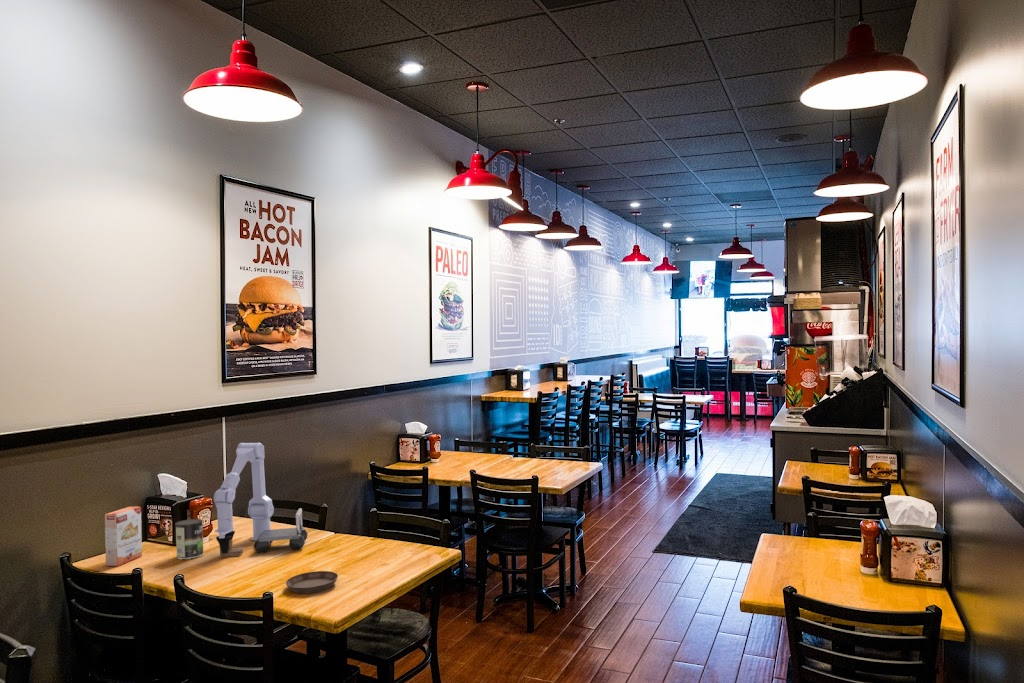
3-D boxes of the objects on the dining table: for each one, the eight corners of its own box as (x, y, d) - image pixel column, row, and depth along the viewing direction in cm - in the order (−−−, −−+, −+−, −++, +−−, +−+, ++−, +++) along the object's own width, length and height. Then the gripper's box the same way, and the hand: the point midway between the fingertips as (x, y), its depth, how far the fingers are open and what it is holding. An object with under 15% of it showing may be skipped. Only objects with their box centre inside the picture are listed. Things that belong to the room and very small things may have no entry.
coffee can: (208, 551, 299) (207, 518, 299) (196, 559, 289) (195, 524, 289) (183, 552, 299) (182, 519, 299) (171, 560, 289) (170, 525, 289)
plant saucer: (275, 590, 248) (274, 582, 248) (315, 576, 262) (314, 567, 262) (309, 599, 238) (309, 590, 238) (348, 583, 253) (348, 574, 253)
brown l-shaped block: (222, 554, 294) (222, 539, 294) (242, 552, 296) (242, 538, 296) (220, 557, 290) (219, 542, 290) (240, 555, 291) (240, 541, 291)
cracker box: (118, 567, 282) (116, 514, 282) (105, 566, 283) (103, 513, 283) (143, 556, 296) (141, 505, 296) (130, 556, 297) (128, 505, 297)
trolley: (259, 545, 306) (258, 511, 306) (307, 541, 310) (306, 507, 310) (254, 553, 294) (252, 518, 294) (304, 549, 297) (303, 514, 297)
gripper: (218, 515, 299) (220, 547, 299) (210, 523, 285) (211, 557, 285) (236, 513, 300) (237, 546, 300) (229, 521, 286) (230, 555, 286)
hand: (226, 551), depth 293 cm, fingers closed on brown l-shaped block, 4 cm apart
